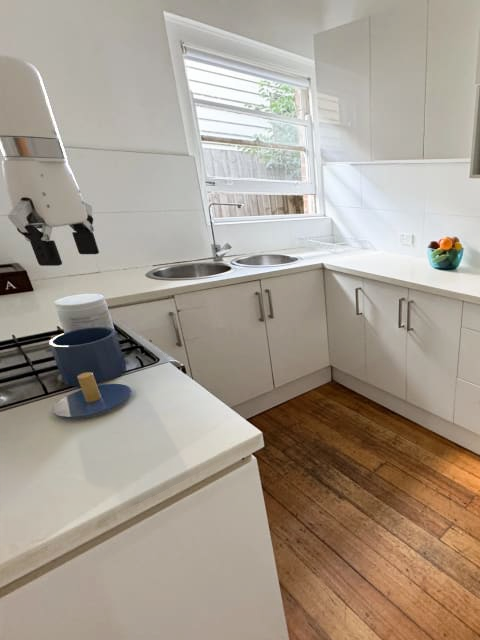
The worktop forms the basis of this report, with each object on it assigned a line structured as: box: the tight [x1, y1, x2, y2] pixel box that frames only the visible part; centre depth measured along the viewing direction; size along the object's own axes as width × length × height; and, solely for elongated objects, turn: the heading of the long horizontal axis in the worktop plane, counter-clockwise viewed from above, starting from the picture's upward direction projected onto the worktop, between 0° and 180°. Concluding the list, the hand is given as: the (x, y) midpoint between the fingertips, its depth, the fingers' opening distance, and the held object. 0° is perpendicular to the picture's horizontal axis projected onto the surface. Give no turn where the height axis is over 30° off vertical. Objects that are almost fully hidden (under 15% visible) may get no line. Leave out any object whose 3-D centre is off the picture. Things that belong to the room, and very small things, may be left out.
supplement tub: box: [54, 293, 115, 333], centre depth 95 cm, size 10×10×15 cm
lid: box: [52, 372, 132, 420], centre depth 76 cm, size 12×12×7 cm
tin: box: [48, 327, 127, 387], centre depth 86 cm, size 11×11×10 cm
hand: (71, 259), depth 67 cm, fingers open, 9 cm apart
